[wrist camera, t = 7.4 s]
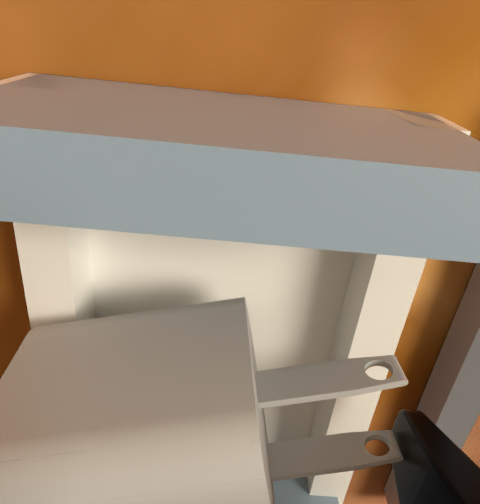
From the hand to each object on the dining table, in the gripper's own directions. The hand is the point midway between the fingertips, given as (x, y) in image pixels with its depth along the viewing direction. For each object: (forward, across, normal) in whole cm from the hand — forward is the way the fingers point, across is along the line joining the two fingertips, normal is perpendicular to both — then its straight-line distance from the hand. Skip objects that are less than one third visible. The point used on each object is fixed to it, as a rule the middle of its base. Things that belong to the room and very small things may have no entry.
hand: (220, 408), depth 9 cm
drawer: (+3, 0, 0) cm, 3 cm away
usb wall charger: (+2, 0, 0) cm, 2 cm away
